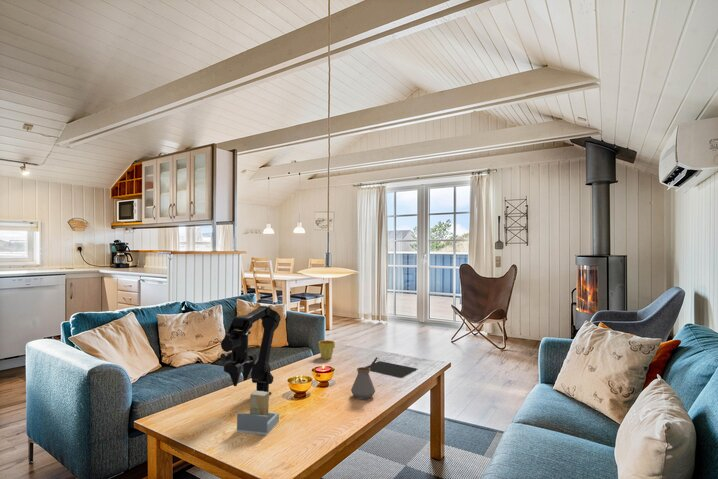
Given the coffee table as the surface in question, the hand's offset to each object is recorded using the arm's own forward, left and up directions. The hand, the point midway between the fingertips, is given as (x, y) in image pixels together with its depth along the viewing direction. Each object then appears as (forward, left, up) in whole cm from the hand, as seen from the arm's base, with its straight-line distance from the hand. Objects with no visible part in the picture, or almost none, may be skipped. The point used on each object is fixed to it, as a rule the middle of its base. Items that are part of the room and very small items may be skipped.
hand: (240, 382), depth 172 cm
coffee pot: (-33, +50, -12) cm, 61 cm away
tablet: (-73, +56, -13) cm, 93 cm away
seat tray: (+12, +15, -12) cm, 23 cm away
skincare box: (+12, +15, -11) cm, 22 cm away
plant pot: (-87, +14, -12) cm, 89 cm away
